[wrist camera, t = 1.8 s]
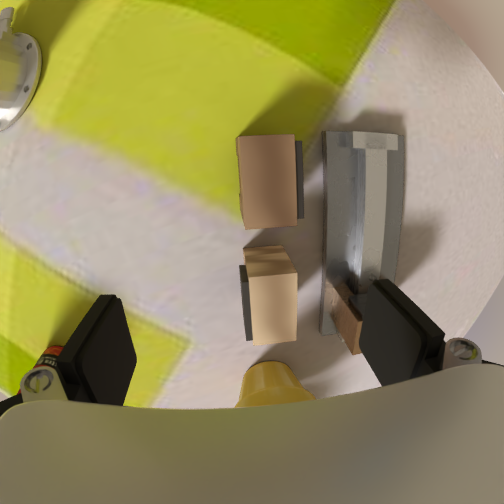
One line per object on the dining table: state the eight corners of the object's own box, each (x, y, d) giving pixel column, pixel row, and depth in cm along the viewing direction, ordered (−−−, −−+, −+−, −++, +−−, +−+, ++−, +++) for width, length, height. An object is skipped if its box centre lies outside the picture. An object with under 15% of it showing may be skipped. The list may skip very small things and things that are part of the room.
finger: (240, 209, 29) (245, 229, 23) (235, 138, 27) (239, 136, 20) (286, 206, 29) (304, 225, 23) (283, 136, 27) (302, 134, 20)
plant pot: (286, 335, 35) (304, 393, 26) (316, 382, 39) (336, 434, 29) (213, 369, 36) (213, 429, 27) (252, 410, 39) (260, 464, 30)
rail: (322, 131, 27) (357, 128, 19) (397, 135, 28) (445, 138, 20) (318, 330, 35) (340, 374, 27) (382, 319, 36) (412, 357, 28)
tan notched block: (242, 307, 33) (246, 346, 26) (237, 248, 30) (241, 278, 24) (282, 303, 33) (296, 340, 27) (281, 245, 31) (297, 272, 24)
